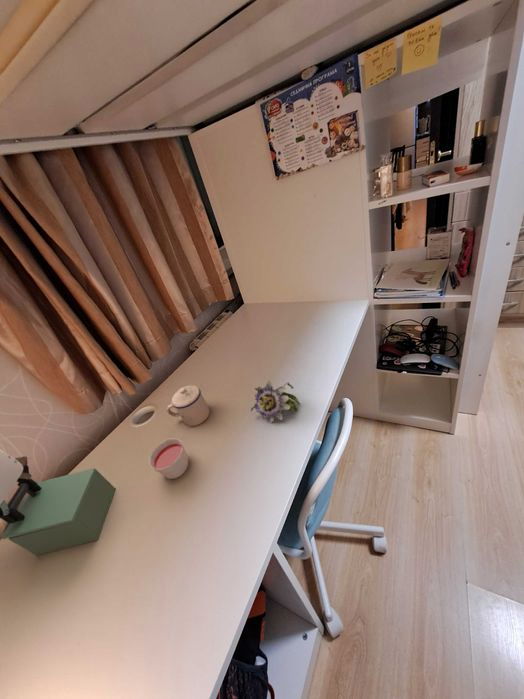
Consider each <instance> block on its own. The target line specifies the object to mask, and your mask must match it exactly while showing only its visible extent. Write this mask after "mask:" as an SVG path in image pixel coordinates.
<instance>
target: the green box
mask: <svg viewBox="0 0 524 699" xmlns="http://www.w3.org/2000/svg"><path fill="white" fill-rule="evenodd" d="M115 491H116V487H115V486H114V485H113V484H111V482H110V481H109V480H108V479H106V478H105V476H103V475H102V474H101V472H99V471H98V470H97V469H96V472H95V474H94V476H93V479H92V481H91V483H90V486H89V488H88V490H87V493H86V495H85V497H84V500H83V502H82V504H81V507H80V509H79V511H78V513H77V516H76V518H75V520H74V522H72V523H68V524H64V525H60V526H55V527H51V528H47V529H43V530H39V531H35V532H31V533H27V534H23V535H19V536H15V537H11V538H8V540H9V541H11V542H12V543H14V544H15V545H17V546H19V547H21V548H22V549H25V551H28V552H30V553H31V554H32V555H35V556H41V555H44V554H49V553H53V552H56V551H60V550H65V549H68V548H72V547H76V546H80V545H84V544H87V543H91V542H96V541H99V538H100V536H101V532H102V530H103V526H104V524H105V522H106V521H105V520H106V518H107V515H108V512H109V510H110V506H111V504H112V500H113V499H114V498H113V497H114V495H115Z"/></svg>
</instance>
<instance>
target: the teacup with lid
mask: <svg viewBox="0 0 524 699" xmlns="http://www.w3.org/2000/svg"><path fill="white" fill-rule="evenodd" d="M172 408H174V409H175V410H176V412H174V411H172V410H171V409H172ZM166 412H167V414H168V415H169V416H171V417H175V418H177V417H180V418H181V419H182V421H183V423H184V424H185V425H186V426H189V427H195V426H198V425H200V424H202V423H204V422H205V421H206V420H207V419H208V418H209V415H210V412H211V411H210V407H209V406H208V403H207V401H206V399H205V398H204V396H203V394H202V391H201V389H200V388H199V387H198V386H197V385H193V384H192V385H187V386H186V385H185V386H182V387H180V388H179V389H178V390H177V391H176V392H175V393H174V394H173V396H172V398H171V403H170V404H169V405H167V407H166Z"/></svg>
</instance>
